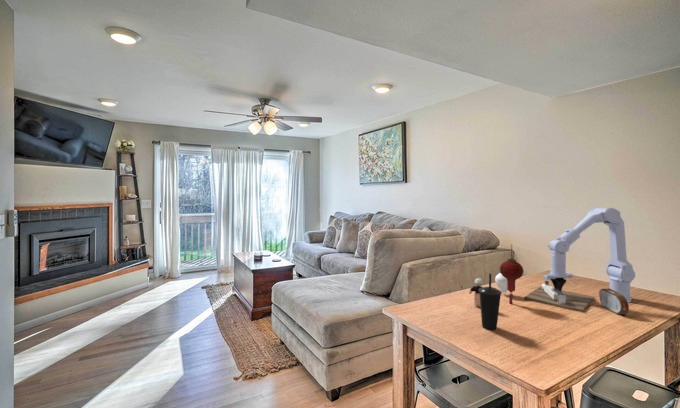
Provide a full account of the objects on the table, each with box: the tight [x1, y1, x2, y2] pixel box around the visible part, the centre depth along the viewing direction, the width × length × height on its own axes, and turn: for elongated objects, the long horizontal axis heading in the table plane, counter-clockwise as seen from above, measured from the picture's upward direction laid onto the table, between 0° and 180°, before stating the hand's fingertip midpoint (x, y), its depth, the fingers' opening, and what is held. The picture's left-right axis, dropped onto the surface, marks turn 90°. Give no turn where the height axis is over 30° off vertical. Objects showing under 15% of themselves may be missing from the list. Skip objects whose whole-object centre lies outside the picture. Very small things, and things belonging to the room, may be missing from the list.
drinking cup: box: [479, 272, 503, 331], centre depth 114 cm, size 8×8×20 cm
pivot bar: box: [541, 283, 557, 300], centre depth 150 cm, size 18×4×2 cm, turn 161°
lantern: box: [499, 245, 524, 305], centre depth 139 cm, size 10×10×30 cm
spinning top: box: [494, 272, 508, 295], centre depth 152 cm, size 8×8×12 cm
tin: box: [598, 287, 630, 316], centre depth 132 cm, size 15×3×8 cm, turn 168°
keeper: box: [551, 287, 566, 305], centre depth 141 cm, size 10×2×4 cm, turn 162°
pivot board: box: [523, 280, 595, 313], centre depth 146 cm, size 26×22×6 cm
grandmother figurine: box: [468, 277, 484, 309], centre depth 135 cm, size 8×4×13 cm, turn 71°
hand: (557, 293), depth 149 cm, fingers closed
